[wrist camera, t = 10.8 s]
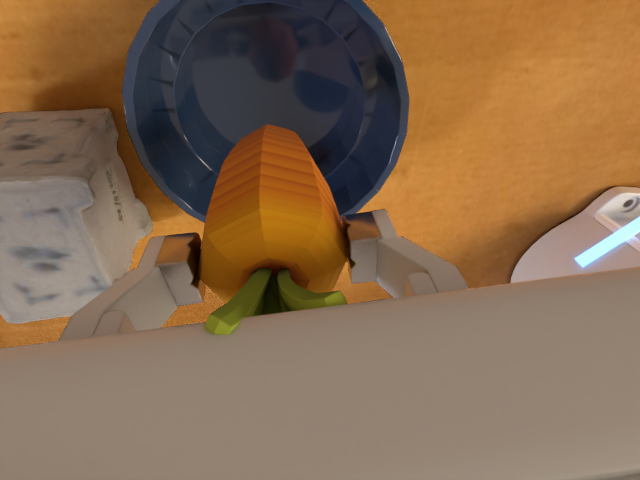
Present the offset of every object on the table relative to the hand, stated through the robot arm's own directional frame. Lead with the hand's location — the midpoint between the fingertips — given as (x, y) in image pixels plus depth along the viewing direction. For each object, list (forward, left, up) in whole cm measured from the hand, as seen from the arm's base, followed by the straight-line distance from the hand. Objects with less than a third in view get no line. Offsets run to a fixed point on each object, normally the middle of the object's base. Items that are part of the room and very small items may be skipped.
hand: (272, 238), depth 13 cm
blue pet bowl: (0, 0, -16) cm, 16 cm away
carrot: (0, 0, -9) cm, 9 cm away
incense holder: (+14, +4, -16) cm, 22 cm away
